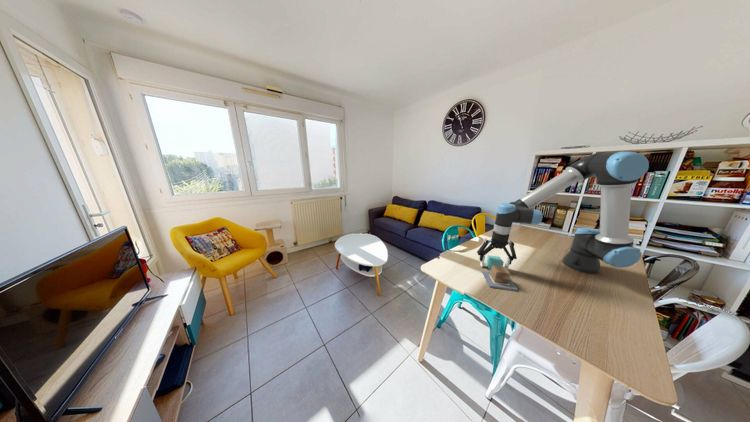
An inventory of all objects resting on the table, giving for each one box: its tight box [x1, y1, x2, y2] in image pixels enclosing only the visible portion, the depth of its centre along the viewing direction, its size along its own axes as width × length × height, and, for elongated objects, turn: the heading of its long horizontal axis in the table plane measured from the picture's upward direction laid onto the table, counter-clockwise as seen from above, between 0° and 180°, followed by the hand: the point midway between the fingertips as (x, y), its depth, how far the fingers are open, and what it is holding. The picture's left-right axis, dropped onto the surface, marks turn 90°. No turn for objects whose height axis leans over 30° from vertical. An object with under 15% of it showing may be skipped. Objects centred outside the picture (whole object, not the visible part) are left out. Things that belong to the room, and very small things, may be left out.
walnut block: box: [490, 265, 511, 284], centre depth 95 cm, size 6×6×6 cm
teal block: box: [485, 254, 505, 271], centre depth 107 cm, size 6×6×6 cm
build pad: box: [481, 270, 519, 292], centre depth 96 cm, size 12×12×1 cm
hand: (493, 267), depth 108 cm, fingers open, 12 cm apart
